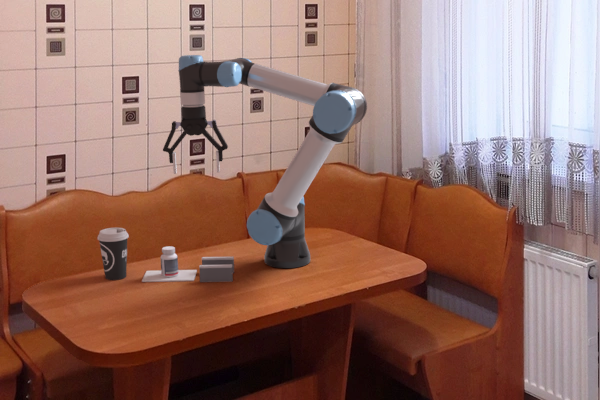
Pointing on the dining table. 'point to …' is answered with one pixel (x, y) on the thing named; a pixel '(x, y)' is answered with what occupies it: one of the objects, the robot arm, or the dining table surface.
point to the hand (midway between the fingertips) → (196, 172)
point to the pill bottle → (169, 262)
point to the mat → (157, 277)
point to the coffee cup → (114, 252)
